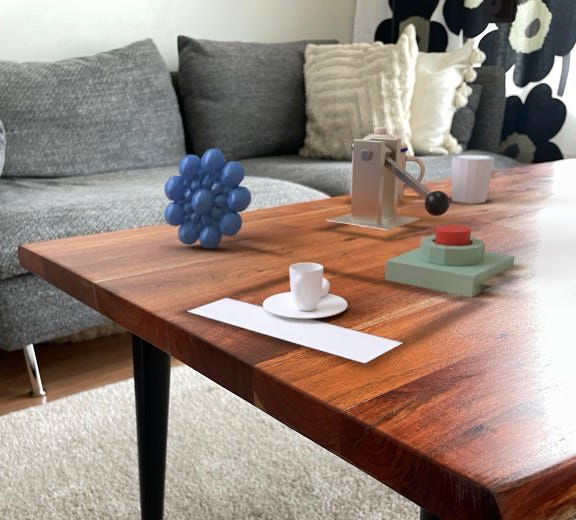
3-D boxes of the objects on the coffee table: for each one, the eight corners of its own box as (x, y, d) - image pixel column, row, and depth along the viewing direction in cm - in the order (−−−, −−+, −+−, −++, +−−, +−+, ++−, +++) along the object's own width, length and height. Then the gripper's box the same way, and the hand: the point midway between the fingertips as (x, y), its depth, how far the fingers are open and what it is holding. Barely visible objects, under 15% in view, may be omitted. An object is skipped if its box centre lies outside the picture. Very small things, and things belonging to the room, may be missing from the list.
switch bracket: (420, 227, 101) (427, 138, 96) (387, 238, 94) (392, 144, 90) (361, 218, 107) (364, 134, 102) (325, 228, 100) (327, 139, 95)
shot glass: (444, 196, 123) (448, 154, 120) (485, 196, 123) (489, 154, 120) (451, 204, 117) (455, 159, 114) (493, 204, 117) (499, 159, 114)
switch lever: (445, 219, 95) (458, 199, 93) (433, 223, 93) (447, 202, 91) (370, 156, 99) (381, 135, 97) (357, 158, 97) (368, 137, 95)
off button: (475, 244, 76) (477, 227, 75) (460, 250, 74) (461, 233, 73) (444, 239, 78) (446, 223, 77) (428, 245, 76) (430, 228, 75)
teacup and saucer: (303, 289, 73) (303, 250, 72) (368, 304, 69) (370, 263, 67) (245, 311, 67) (244, 268, 66) (312, 329, 63) (313, 284, 61)
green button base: (512, 275, 78) (517, 239, 76) (471, 297, 71) (476, 258, 69) (429, 261, 84) (432, 227, 82) (384, 280, 77) (386, 243, 75)
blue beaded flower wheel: (264, 244, 92) (263, 146, 87) (244, 257, 86) (241, 152, 81) (182, 237, 95) (177, 142, 90) (157, 249, 89) (150, 148, 84)
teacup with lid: (345, 205, 116) (347, 129, 111) (353, 196, 124) (356, 124, 119) (420, 208, 113) (426, 130, 108) (424, 198, 121) (430, 125, 116)
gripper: (528, -217, 63) (502, 19, 70) (584, -177, 73) (557, 24, 81) (449, -199, 67) (433, 21, 74) (513, -164, 78) (494, 26, 85)
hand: (498, 22), depth 78 cm, fingers closed
